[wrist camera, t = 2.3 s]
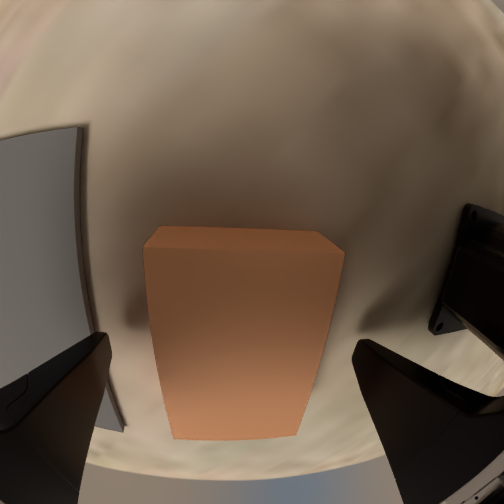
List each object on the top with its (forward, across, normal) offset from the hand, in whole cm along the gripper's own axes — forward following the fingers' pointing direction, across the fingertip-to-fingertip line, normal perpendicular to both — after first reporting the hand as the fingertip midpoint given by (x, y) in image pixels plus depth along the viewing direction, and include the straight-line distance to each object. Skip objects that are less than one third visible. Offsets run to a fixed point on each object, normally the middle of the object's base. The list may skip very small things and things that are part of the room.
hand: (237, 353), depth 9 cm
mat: (+1, +12, 0) cm, 12 cm away
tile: (+1, 0, 0) cm, 1 cm away
